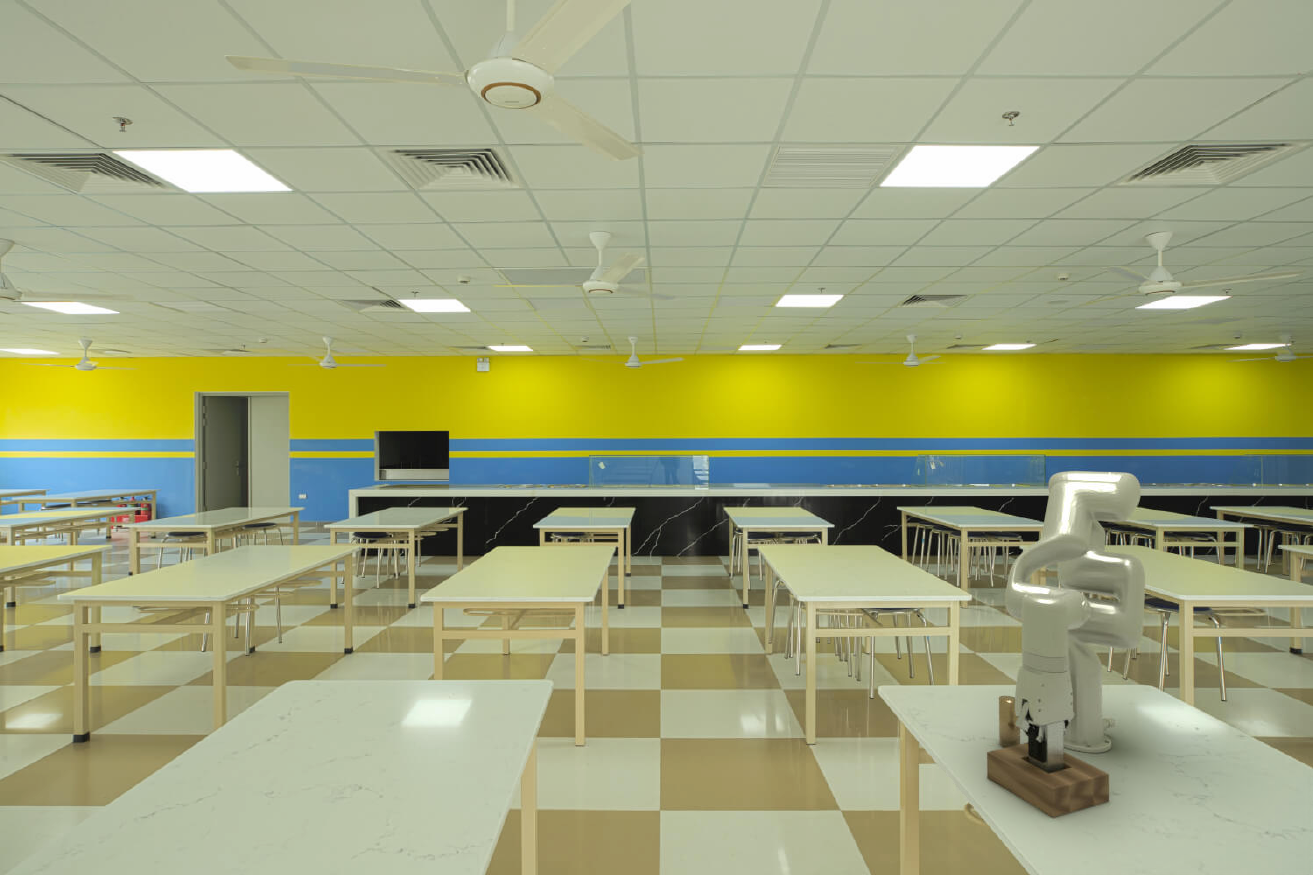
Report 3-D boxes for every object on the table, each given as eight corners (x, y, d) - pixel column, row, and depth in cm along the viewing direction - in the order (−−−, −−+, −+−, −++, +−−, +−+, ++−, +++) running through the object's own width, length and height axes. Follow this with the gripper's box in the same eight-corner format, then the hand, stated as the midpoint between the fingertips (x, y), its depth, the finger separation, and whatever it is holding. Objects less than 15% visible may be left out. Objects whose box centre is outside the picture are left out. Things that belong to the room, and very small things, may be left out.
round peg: (1008, 739, 140) (1008, 694, 140) (1024, 748, 136) (1024, 701, 136) (994, 742, 139) (994, 697, 139) (1010, 751, 135) (1010, 704, 135)
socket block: (1039, 764, 130) (1039, 739, 130) (1109, 801, 116) (1108, 773, 116) (987, 777, 125) (987, 752, 125) (1053, 817, 112) (1052, 789, 112)
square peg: (1044, 763, 123) (1043, 712, 123) (1063, 774, 119) (1063, 721, 119) (1028, 767, 122) (1028, 715, 122) (1048, 778, 118) (1047, 724, 118)
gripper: (1058, 648, 127) (1059, 740, 127) (994, 660, 121) (995, 755, 121) (1095, 661, 120) (1096, 758, 120) (1029, 673, 114) (1030, 775, 114)
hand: (1045, 755), depth 121 cm, fingers closed on square peg, 3 cm apart
